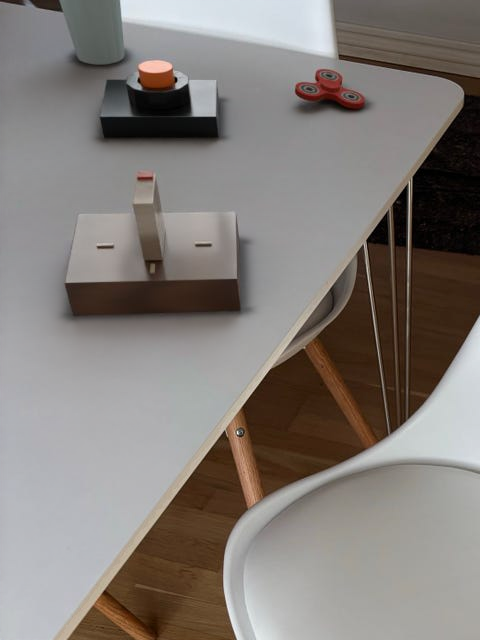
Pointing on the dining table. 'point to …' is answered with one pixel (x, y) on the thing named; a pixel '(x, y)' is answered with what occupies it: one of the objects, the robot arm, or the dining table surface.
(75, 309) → the panel
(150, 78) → the button
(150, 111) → the button block
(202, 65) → the dining table surface
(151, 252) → the red-tipped white slab
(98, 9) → the cup
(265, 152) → the dining table surface
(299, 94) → the fidget spinner
